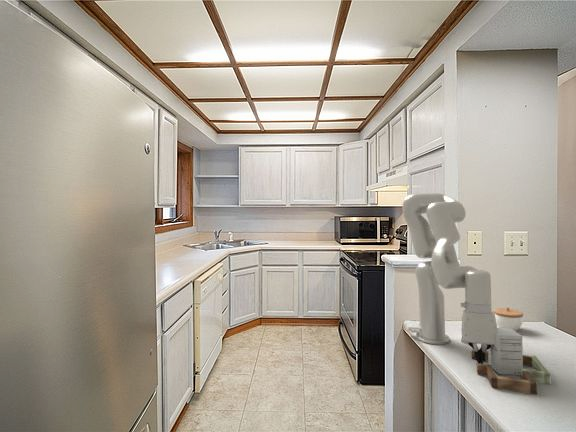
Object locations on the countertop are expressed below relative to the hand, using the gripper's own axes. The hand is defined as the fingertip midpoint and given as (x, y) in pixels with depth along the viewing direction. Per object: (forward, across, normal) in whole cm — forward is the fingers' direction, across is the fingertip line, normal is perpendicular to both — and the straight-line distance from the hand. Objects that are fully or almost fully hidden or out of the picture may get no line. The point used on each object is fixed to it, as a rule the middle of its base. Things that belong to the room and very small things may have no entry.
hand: (479, 362), depth 110 cm
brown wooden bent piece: (+1, +6, -10) cm, 12 cm away
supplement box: (+2, +7, 0) cm, 7 cm away
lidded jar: (+2, +17, +42) cm, 46 cm away
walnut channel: (+1, +7, 0) cm, 7 cm away
